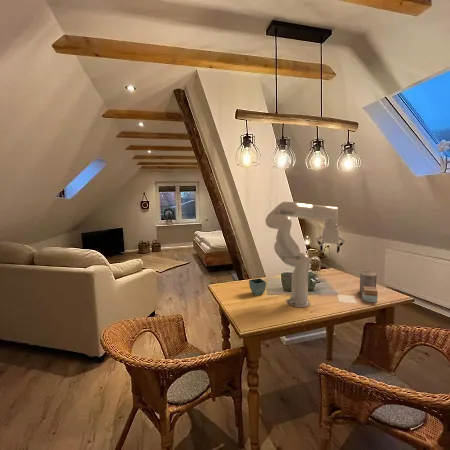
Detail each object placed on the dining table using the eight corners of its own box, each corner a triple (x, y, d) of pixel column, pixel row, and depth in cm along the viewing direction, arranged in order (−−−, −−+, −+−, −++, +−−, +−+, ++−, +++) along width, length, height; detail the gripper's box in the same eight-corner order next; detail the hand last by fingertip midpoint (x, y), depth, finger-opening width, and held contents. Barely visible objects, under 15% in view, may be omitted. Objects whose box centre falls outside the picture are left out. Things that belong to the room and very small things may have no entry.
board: (377, 295, 170) (377, 291, 169) (364, 294, 172) (364, 290, 171) (374, 291, 176) (374, 287, 176) (362, 290, 178) (362, 286, 178)
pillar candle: (364, 289, 193) (365, 268, 191) (378, 293, 185) (379, 271, 183) (356, 292, 188) (357, 270, 185) (370, 297, 179) (371, 274, 177)
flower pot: (255, 297, 183) (255, 284, 182) (248, 292, 191) (248, 280, 190) (266, 294, 187) (266, 281, 185) (259, 290, 195) (259, 278, 193)
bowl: (371, 303, 169) (371, 296, 169) (359, 299, 176) (359, 292, 176) (379, 301, 173) (380, 294, 173) (367, 296, 180) (368, 289, 180)
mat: (356, 304, 169) (356, 303, 169) (339, 302, 172) (339, 301, 172) (353, 296, 181) (353, 295, 181) (337, 295, 184) (337, 294, 184)
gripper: (345, 225, 181) (343, 251, 183) (316, 224, 186) (315, 249, 188) (346, 227, 174) (344, 254, 176) (316, 225, 179) (315, 252, 181)
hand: (329, 252), depth 182 cm, fingers open, 9 cm apart
